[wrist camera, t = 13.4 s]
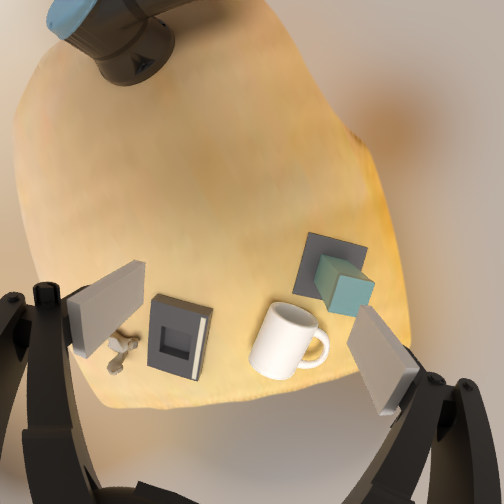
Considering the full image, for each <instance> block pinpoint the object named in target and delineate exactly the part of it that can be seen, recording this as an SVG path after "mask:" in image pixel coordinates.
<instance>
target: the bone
mask: <svg viewBox="0 0 504 504" xmlns="http://www.w3.org/2000/svg"><path fill="white" fill-rule="evenodd" d="M107 339H108V340H109V344H108V347H109V348H110V349H112V350H114V351H116V352H119V354H118V355H117V356H116V357H115V358H114V359H112V360H111V361H110V362H109V364H108V366H107V370H108V371H109V373H110V374H112V375H116V374H117V373H119V372H121V371H122V370H123V365H122V363H123V361H124V360H125V358H126V356H127V355H128V350H132V349H135V348H137V346H138V340H139V339H138V338H129V339H128V338H125V337H123V336H121V335H120V334H119V333H118V332H116V331H114V332H113V333H112V334H111V335H110V336H109V337H108V338H107Z"/></svg>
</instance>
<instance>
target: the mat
mask: <svg viewBox="0 0 504 504" xmlns="http://www.w3.org/2000/svg"><path fill="white" fill-rule="evenodd" d="M367 249H368V248H367V247H363V246H359V245H356V244H352V243H348V242H344V241H341V240H337V239H333V238H329V237H325V236H321V235H317V234H313V233H308V237H307V241H306V245H305V249H304V253H303V256H302V260H301V264H300V268H299V271H298V275H297V279H296V282H295V286H294V289H293V294H297V295H301V296H306V297H310V298H315V299H320V300H323V299H322V297H321V295H320V293H319V291H318V289H317V287H316V285H315V283H314V278H315V275H316V271H317V268H318V264H319V261H320V257H321V254H324V255H328V256H332V257H336V258H340V259H344V260H348V261H349V262H350V263H351V264H353V265H354V266H355V267H356V268H357V269H358V270H360V271H361V269H362V266H363V263H364V259H365V256H366V252H367Z"/></svg>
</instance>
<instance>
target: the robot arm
mask: <svg viewBox="0 0 504 504" xmlns="http://www.w3.org/2000/svg"><path fill="white" fill-rule="evenodd" d="M193 1H196V0H54V2H53V3H52V5H51V7H50V9H49V12H48V15H47V20H46V22H47V27H48V29H50V31H52V32H53V33H54V34H56V35H57V36H58V37H59V39H62V40H64V41H66V42H68V43H69V44H71V45H73V46H74V47H76V48H77V49H79V50H80V51H82V52H84V53H85V54H87V55H88V56H90V57H91V58H93V59H94V60H95V62H96V64H97V66H98V67H99V70H100V72H101V74H102V76H103V77H104V78H105V79H106V80H108V81H110V82H111V83H113V84H115V85H118V86H129V85H133V84H137V83H139V82H142V81H144V80H145V79H147V78H149V77H150V76H152V75H153V74H155V73H156V72H157V71H158V70H159V69H160V68H161V67H162V66H163V65H164V64H165V63H166V61H167V60H168V58H169V57H170V55H171V53H172V51H173V48H174V42H175V39H174V35H173V32H172V31H171V29H170V28H169V26H168V25H167V24H166V23H165V22H163V21H162V20H159V19H157V18H155V17H153V16H155V15H158V14H160V13H163V12H165V11H168V10H170V9H173V8H176V7H178V6H181V5H184V4H187V3H190V2H193ZM144 278H145V262H141V261H137V260H133V261H132V262H130V263H128V264H126V265H125V266H123V267H121V268H119V269H117V270H116V271H114V272H112V273H110V274H109V275H107V276H105V277H104V278H102V279H100V280H98V281H97V282H95V283H93V284H92V285H87V286H83V287H81V288H79V289H78V290H76V291H74V292H73V293H71V294H69V295H67V296H66V297H64V298H62V299H61V298H60V287H59V285H58V284H56V283H53V282H41V283H38V284H36V285H34V287H33V294H34V301H35V306H32V305H28V304H26V302H25V297H24V295H23V294H22V293H18V292H9V293H8V294H5V295H4V296H3V297H2V298H1V299H0V458H1V453H2V447H3V442H4V437H5V433H6V428H7V424H8V420H9V416H10V413H11V409H12V406H13V402H14V399H15V396H16V393H17V390H18V387H19V384H20V381H21V378H22V376H23V373H24V370H25V367H26V365H27V362H28V367H27V417H28V418H27V419H28V429H24V430H23V431H22V445H23V453H24V461H25V468H26V474H27V479H28V484H29V489H30V493H31V497H32V502H33V504H199V503H196V502H194V501H192V500H190V499H188V498H185V497H183V496H181V495H179V494H177V493H175V492H171V491H168V490H164V489H161V488H158V487H155V486H152V485H149V484H146V483H143V482H141V481H138V483H137V486H136V488H131V487H106V488H102V487H101V485H100V482H99V480H98V478H97V476H96V473H95V471H94V468H93V465H92V462H91V459H90V456H89V453H88V450H87V446H86V443H85V439H84V435H83V432H82V428H81V424H80V420H79V416H78V411H77V406H76V401H75V395H74V390H73V384H72V377H71V370H70V362H69V353H68V348H67V347H68V346H69V345H70V344H71V343H72V345H73V350H74V354H77V355H79V356H81V357H83V358H85V359H87V358H88V357H89V356H90V355H91V354H92V353H93V352H94V351H95V350H96V349H97V348H98V347H99V346H100V345H101V344H102V343H103V342H104V341H105V340H106V339H107V338H108V337H109V336H110V335H111V334H112V333H113V332H114V331H115V330H116V329H117V328H119V327H120V326H121V325H122V324H123V323H124V322H125V321H126V320H127V319H128V318H129V317H130V316H131V315H132V314H133V313H134V312H135V311H136V310H137V309H138V308H139V307H140V306H141V305H142V304H143V300H144ZM347 345H348V347H349V349H350V351H351V353H352V356H353V358H354V360H355V362H356V364H357V367H358V369H359V371H360V373H361V375H362V378H363V380H364V382H365V384H366V387H367V389H368V391H369V394H370V396H371V398H372V401H373V403H374V405H375V407H376V410H377V412H378V415H392V414H393V413H394V411H395V410H396V408H397V406H398V405H399V407H400V408H401V412H400V414H399V415H398V417H397V418H396V420H395V421H394V422H393V424H392V425H391V427H390V428H391V430H390V432H389V434H388V435H387V437H386V439H385V441H384V443H383V444H382V446H381V448H380V449H379V451H378V453H377V454H376V456H375V457H374V459H373V461H372V462H371V464H370V465H369V467H368V468H367V470H366V471H365V473H364V474H363V476H362V477H361V479H360V480H359V481H358V483H357V484H356V486H355V487H354V488H353V490H352V491H351V492H350V494H349V495H348V496H347V497H346V499H345V500H344V501H343V502H342V504H415V502H414V501H412V500H410V499H411V496H412V494H413V492H414V490H415V487H416V485H417V483H418V480H419V478H420V476H421V473H422V470H423V468H424V465H425V462H426V460H427V457H428V454H429V451H430V448H431V471H430V482H429V492H428V500H427V504H501V489H500V479H499V471H498V464H497V458H496V452H495V447H494V443H493V438H492V434H491V429H490V425H489V421H488V418H487V414H486V411H485V407H484V404H483V401H482V397H481V395H480V391H479V389H478V386H477V385H476V384H475V383H474V382H473V381H472V380H470V379H466V378H461V379H459V381H458V382H457V384H456V386H449V385H446V381H445V380H444V378H442V376H440V375H438V374H437V373H434V372H426V370H425V369H424V367H423V366H422V365H421V363H420V362H419V361H417V358H416V357H415V356H414V354H413V353H412V352H411V351H410V349H408V348H407V347H406V346H404V345H402V344H401V342H400V341H399V340H398V338H397V337H396V336H395V335H394V333H393V332H392V331H391V330H390V328H389V327H388V326H387V325H386V323H385V322H384V321H383V320H382V318H381V317H380V316H379V315H378V313H377V312H376V311H375V310H374V309H373V307H372V306H368V305H360V308H359V311H358V314H357V317H356V319H355V322H354V325H353V328H352V330H351V333H350V336H349V339H348V341H347Z"/></svg>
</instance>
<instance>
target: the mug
mask: <svg viewBox="0 0 504 504" xmlns="http://www.w3.org/2000/svg"><path fill="white" fill-rule="evenodd" d="M318 325H319V323H318V321H317V319H316V318H315V317H314V316H313V315H312V314H311V313H309V312H308V311H306V310H304V309H302V308H300V307H298V306H296V305H293V304H289V303H285V302H274V303H272V304H271V305H270V307H269V309H268V311H267V314H266V316H265V319H264V321H263V323H262V326H261V328H260V331H259V333H258V335H257V338H256V340H255V342H254V345H253V347H252V349H251V352H250V354H249V362H250V364H251V366H252V367H253V368H254V369H255V370H256V371H257V372H258V373H260V374H262V375H264V376H266V377H268V378H271V379H276V380H285V379H288V378H290V377H291V376H292V375H293V374H294V372H295V370H296V368H303V369H309V368H314V367H317V366H319V365H320V364H322V363H323V362H324V361H325V359H326V358H327V356H328V353H329V349H330V341H329V337H328V335H327V334H326V333H325V332H324V331H323V330H322V329H320V328H318ZM313 336H315V337H317V338H318V339H320V340H321V341H322V343H323V344H324V348H323V351H322V353H321V355H320V356H319V358H317V359H316V360H312V361H307V360H301V359H302V357H303V355H304V354H305V352H306V350H307V348H308V346H309V344H310V342H311V340H312V338H313Z"/></svg>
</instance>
